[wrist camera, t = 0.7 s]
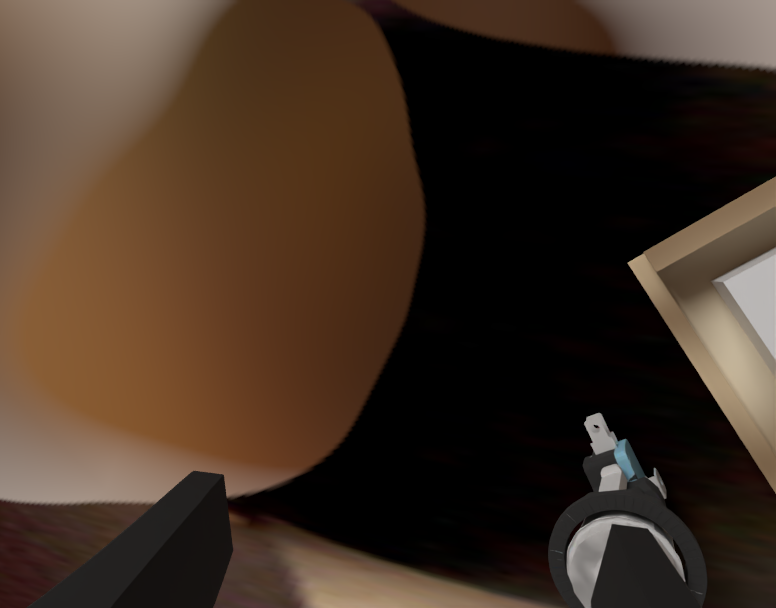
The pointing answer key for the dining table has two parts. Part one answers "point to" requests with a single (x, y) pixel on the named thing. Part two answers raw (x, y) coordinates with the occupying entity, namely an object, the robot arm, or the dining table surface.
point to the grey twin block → (754, 302)
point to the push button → (617, 520)
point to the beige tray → (720, 312)
